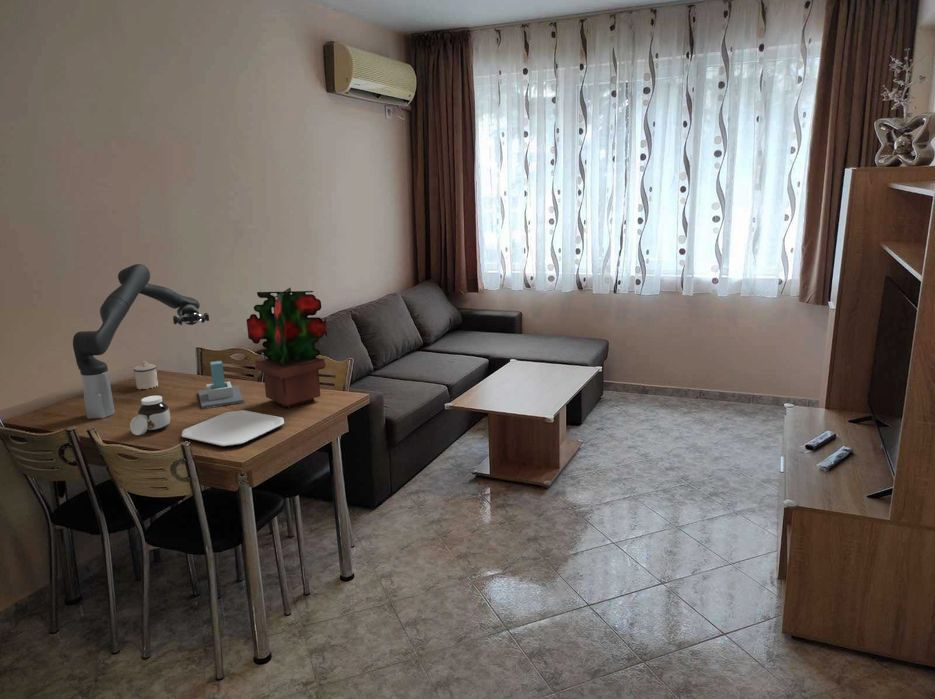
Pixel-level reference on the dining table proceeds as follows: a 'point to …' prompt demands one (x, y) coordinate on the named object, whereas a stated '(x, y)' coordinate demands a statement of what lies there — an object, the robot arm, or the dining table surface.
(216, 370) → the teal peg
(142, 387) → the teacup with lid
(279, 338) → the potted plant
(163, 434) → the dining table surface
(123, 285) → the robot arm
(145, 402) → the spread jar
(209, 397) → the socket holder
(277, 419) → the plate
